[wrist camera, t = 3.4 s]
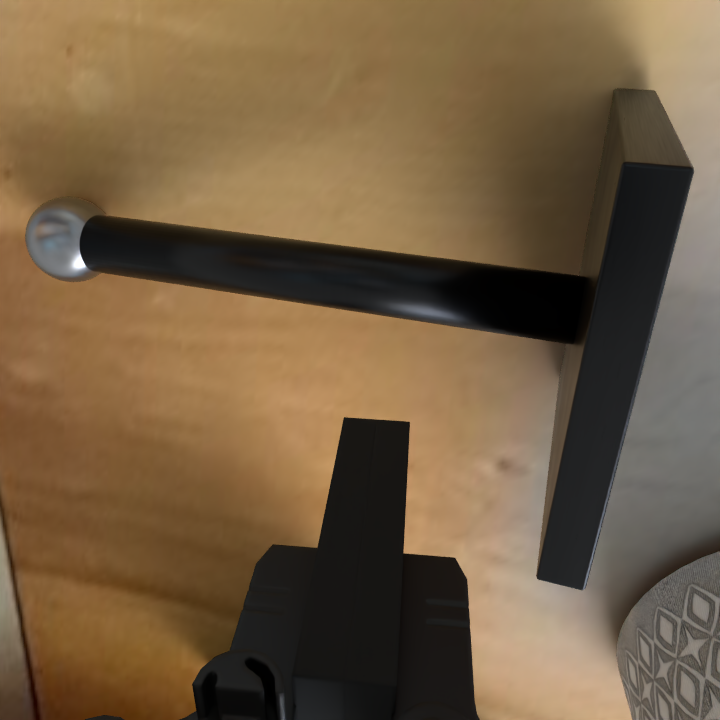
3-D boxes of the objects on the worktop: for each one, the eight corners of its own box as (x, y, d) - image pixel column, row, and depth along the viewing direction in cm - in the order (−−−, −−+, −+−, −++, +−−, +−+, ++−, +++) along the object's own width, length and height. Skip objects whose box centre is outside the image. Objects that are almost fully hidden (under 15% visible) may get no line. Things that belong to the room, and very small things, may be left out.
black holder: (653, 88, 25) (831, 173, 14) (589, 381, 32) (677, 599, 21) (18, 70, 27) (-273, 130, 16) (79, 350, 34) (-98, 535, 22)
